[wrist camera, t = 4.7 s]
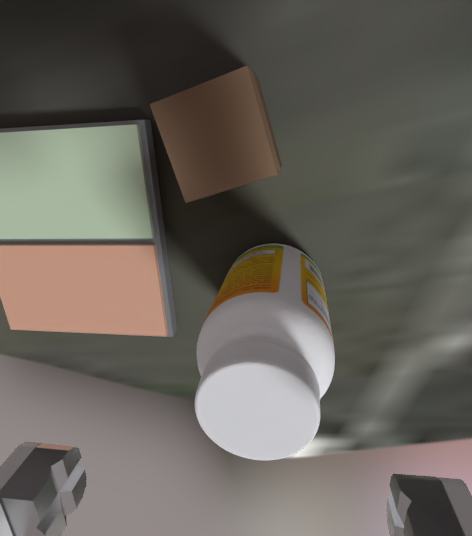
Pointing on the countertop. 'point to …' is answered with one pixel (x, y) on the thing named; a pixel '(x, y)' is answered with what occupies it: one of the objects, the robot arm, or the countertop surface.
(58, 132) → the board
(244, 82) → the walnut block
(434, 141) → the countertop surface
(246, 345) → the supplement bottle
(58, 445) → the robot arm
